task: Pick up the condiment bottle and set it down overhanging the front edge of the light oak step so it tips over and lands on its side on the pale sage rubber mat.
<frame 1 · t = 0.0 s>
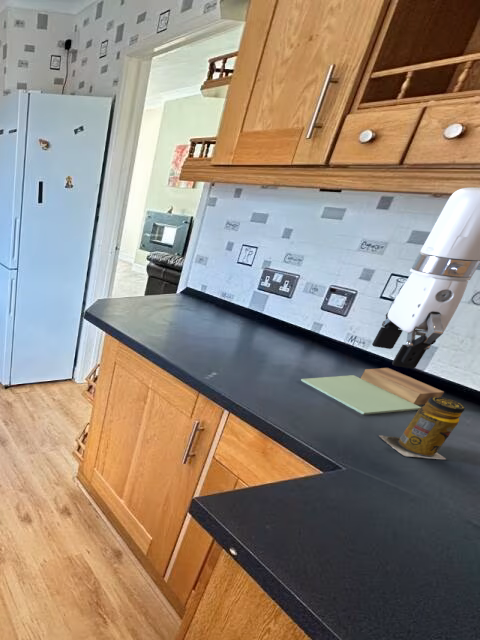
hand: (391, 356, 79), 22 cm above the counter, tool pointing down, fingers open, 9 cm apart
condiment: (410, 448, 91), on the counter
step: (396, 391, 114), on the counter
mat: (357, 394, 112), on the counter
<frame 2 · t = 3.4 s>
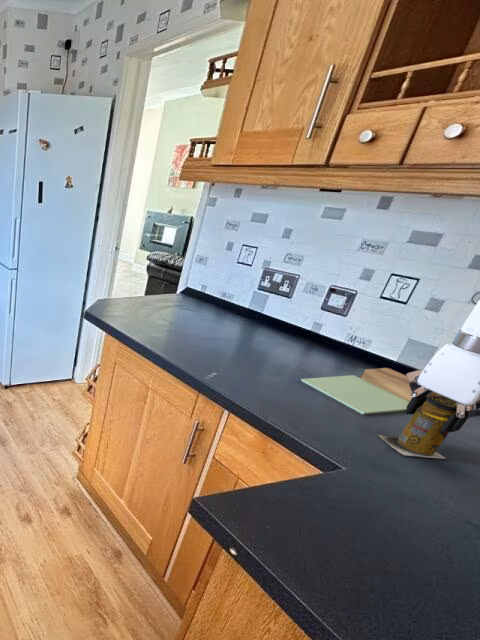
hand: (429, 421, 88), 7 cm above the counter, tool pointing down, fingers closed on condiment, 6 cm apart
condiment: (409, 448, 91), on the counter, touching gripper
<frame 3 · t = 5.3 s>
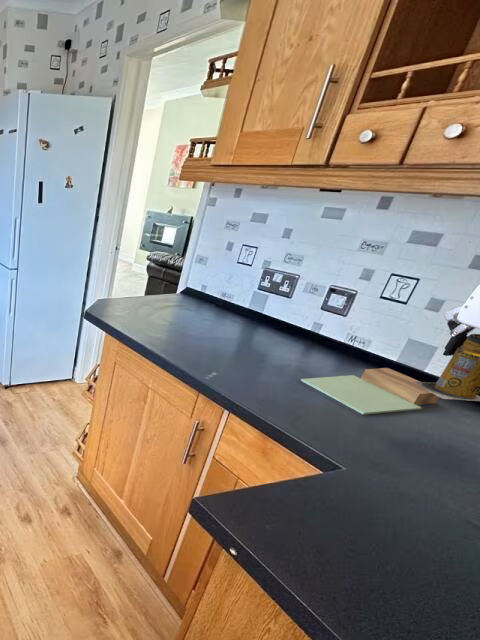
hand: (470, 361, 81), 21 cm above the counter, tool pointing down, fingers closed on condiment, 6 cm apart
condiment: (448, 392, 85), point 14 cm above the counter, touching gripper
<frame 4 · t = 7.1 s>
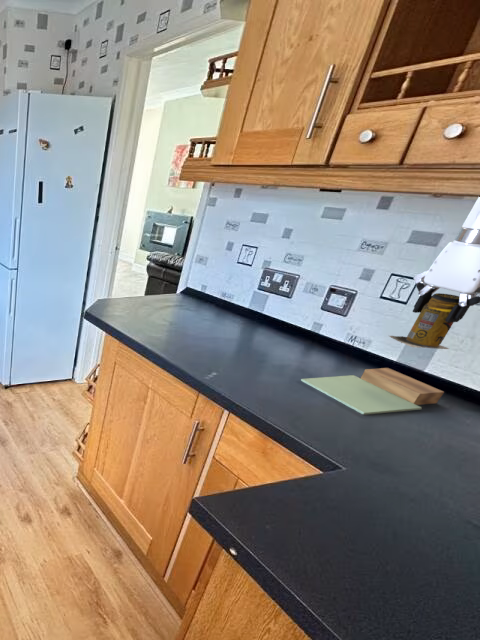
hand: (434, 316, 99), 23 cm above the counter, tool pointing down, fingers closed on condiment, 6 cm apart
condiment: (416, 343, 102), point 16 cm above the counter, touching gripper
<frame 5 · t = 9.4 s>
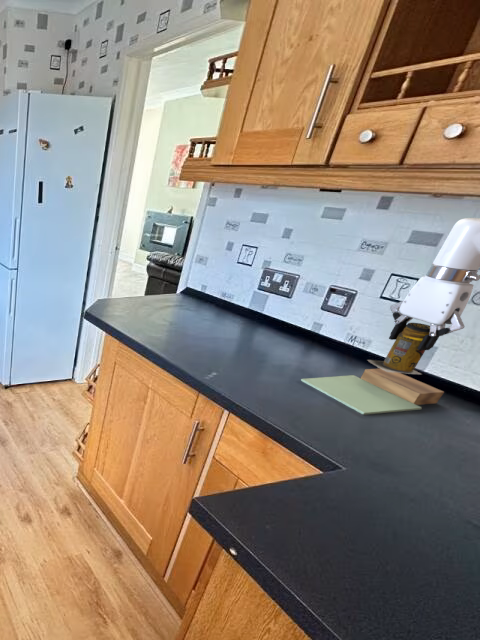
hand: (408, 343, 106), 15 cm above the counter, tool pointing down, fingers closed on condiment, 6 cm apart
condiment: (392, 368, 110), point 7 cm above the counter, touching gripper
when the fingers open (11 cm above the counter, at t = 10.9 s): condiment moves 5 cm, resting on mat.
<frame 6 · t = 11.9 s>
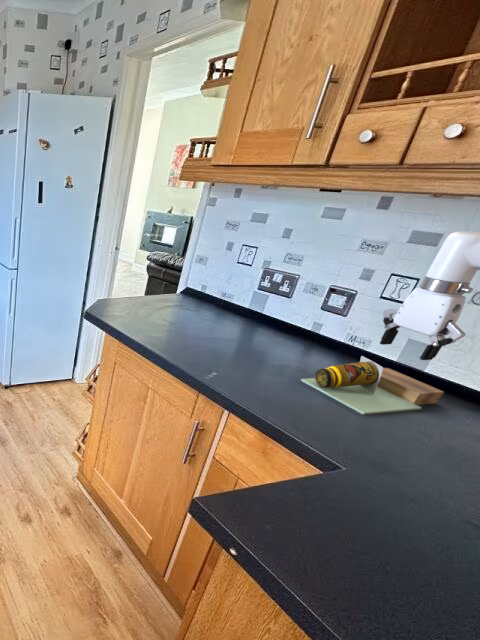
hand: (404, 351, 107), 12 cm above the counter, tool pointing down, fingers open, 9 cm apart
condiment: (369, 374, 112), point 5 cm above the counter, touching mat
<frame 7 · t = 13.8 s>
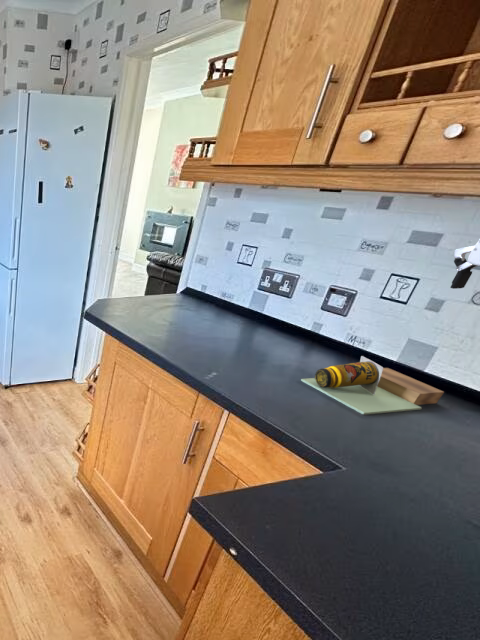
nothing on the counter moved.
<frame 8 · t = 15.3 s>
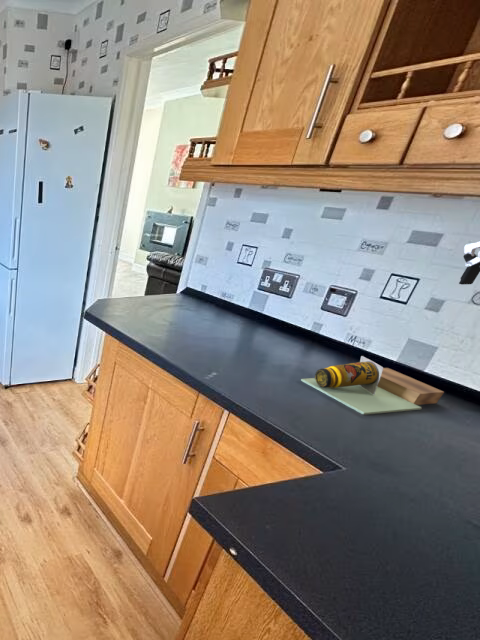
nothing on the counter moved.
at the end: condiment tilted 102°; condiment inside the target area on the mat (3.5 cm from its centre), point 4.9 cm above the mat's base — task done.
